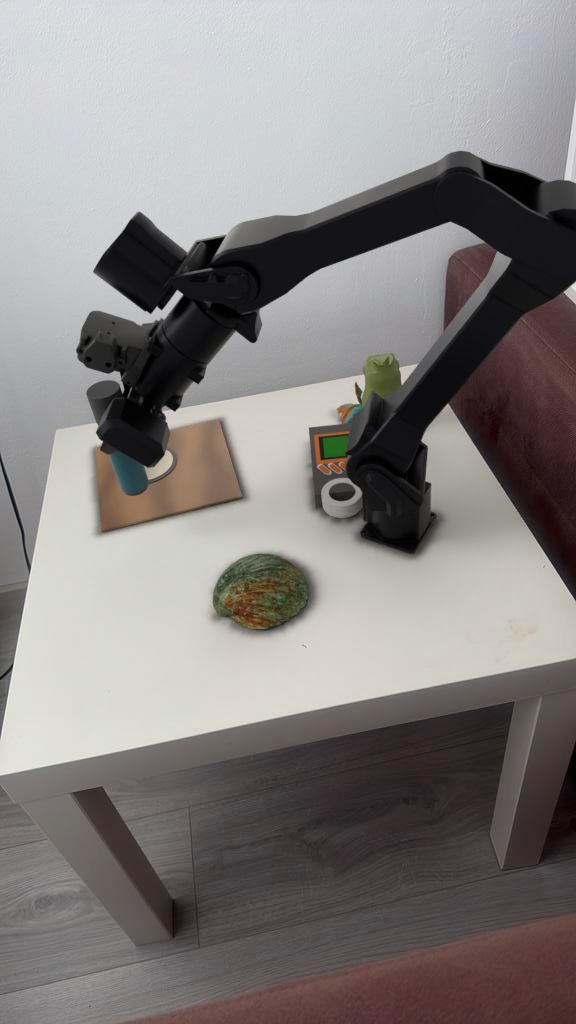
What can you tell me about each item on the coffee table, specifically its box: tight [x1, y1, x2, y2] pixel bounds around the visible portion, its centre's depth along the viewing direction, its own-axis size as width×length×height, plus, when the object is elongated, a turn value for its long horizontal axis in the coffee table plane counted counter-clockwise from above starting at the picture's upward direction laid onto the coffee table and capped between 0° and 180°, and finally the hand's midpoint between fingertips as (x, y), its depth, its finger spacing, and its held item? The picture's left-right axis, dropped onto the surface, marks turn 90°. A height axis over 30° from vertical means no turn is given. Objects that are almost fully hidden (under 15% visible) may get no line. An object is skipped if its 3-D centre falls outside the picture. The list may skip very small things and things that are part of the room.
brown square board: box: [94, 418, 243, 533], centre depth 93 cm, size 17×17×1 cm
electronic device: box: [308, 423, 362, 519], centre depth 88 cm, size 7×3×15 cm
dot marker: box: [85, 379, 149, 496], centre depth 78 cm, size 3×3×13 cm
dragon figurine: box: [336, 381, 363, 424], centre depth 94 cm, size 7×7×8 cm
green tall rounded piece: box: [361, 352, 403, 408], centre depth 92 cm, size 6×5×10 cm
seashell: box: [212, 553, 309, 630], centre depth 75 cm, size 10×4×10 cm
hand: (107, 441), depth 78 cm, fingers closed on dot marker, 3 cm apart
